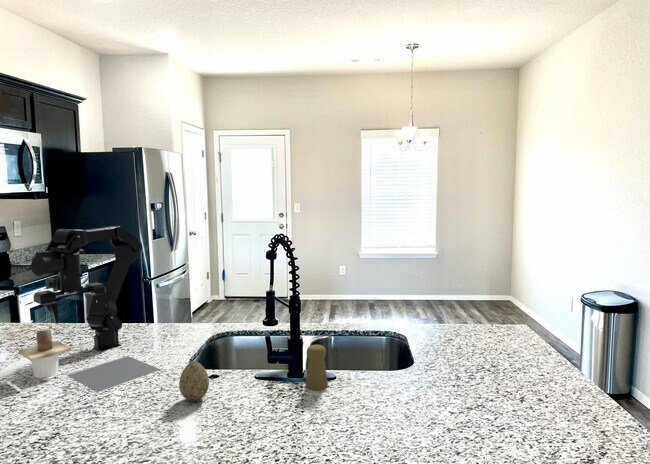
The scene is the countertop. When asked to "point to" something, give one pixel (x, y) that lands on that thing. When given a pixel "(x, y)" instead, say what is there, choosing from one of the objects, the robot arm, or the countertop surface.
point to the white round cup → (45, 366)
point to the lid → (44, 347)
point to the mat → (112, 373)
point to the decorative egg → (194, 381)
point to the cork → (316, 368)
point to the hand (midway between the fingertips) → (72, 320)
